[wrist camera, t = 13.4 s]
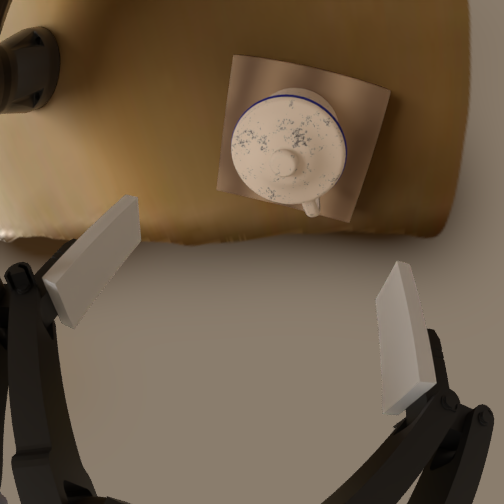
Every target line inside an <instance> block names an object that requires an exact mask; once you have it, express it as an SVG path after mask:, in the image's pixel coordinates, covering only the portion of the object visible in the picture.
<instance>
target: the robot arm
mask: <svg viewBox="0 0 504 504" xmlns="http://www.w3.org/2000/svg"><path fill="white" fill-rule="evenodd" d="M11 2H12V0H0V34H1V31H2V28H3V25H4V22H5V19H6V16H7V13H8V10H9V8H10V5H11ZM59 68H60V57H59V49H58V45H57V42H56V40H55V38H54V36H53V35H52V33H51V32H50V31H49V30H47V29H46V28H43V27H33V28H27V29H24V30H21V31H20V32H18V33H16V34H14V35H12V36H11V37H9V38H7V39H5V40H4V41H2V42H0V114H6V113H27V112H31V111H33V110H36V109H38V108H40V107H42V106H43V105H44V104H45V103H46V102H47V101H48V100H49V99H50V97H51V95H52V94H53V92H54V89H55V87H56V84H57V80H58V75H59ZM140 241H141V234H140V222H139V208H138V197H134V196H130V195H124V196H123V197H122V198H121V199H120V200H119V201H118V202H117V203H116V204H114V205H113V206H112V207H111V208H110V209H109V210H108V211H107V212H106V213H105V214H104V215H102V216H101V217H100V218H99V219H98V220H97V221H96V222H95V223H94V224H93V225H92V226H91V227H90V228H89V229H88V230H87V231H86V232H85V233H84V234H83V235H82V236H81V237H80V238H79V239H78V240H77V239H72V240H70V241H68V242H67V243H65V244H64V245H63V246H62V247H61V248H60V249H59V250H58V251H57V252H56V253H55V254H54V255H53V256H52V258H50V259H49V260H48V261H47V262H46V263H45V264H44V265H43V266H42V267H41V269H40V270H39V271H38V272H37V273H36V274H35V275H34V274H33V272H32V269H31V267H30V265H29V264H28V263H25V262H19V263H16V264H14V265H12V266H11V267H9V268H8V270H7V271H6V272H5V275H4V277H5V279H6V282H7V284H3V282H2V280H1V279H0V487H1V480H2V467H3V434H4V420H5V409H6V401H7V392H8V386H9V397H10V408H11V417H12V425H13V432H14V438H15V444H16V454H15V455H14V456H13V457H12V461H11V464H12V470H13V475H14V479H15V483H16V487H17V491H18V494H19V498H20V501H21V504H130V503H128V502H125V501H121V500H117V499H114V498H111V497H107V498H106V497H98V496H97V494H96V492H95V489H94V486H93V484H92V481H91V479H90V477H89V475H88V474H87V473H86V471H85V469H84V468H83V465H82V463H81V460H80V456H79V453H78V449H77V446H76V442H75V439H74V435H73V431H72V427H71V422H70V418H69V414H68V409H67V404H66V399H65V393H64V388H63V382H62V376H61V369H60V362H59V355H58V345H57V335H56V325H55V321H54V319H55V318H56V316H57V315H58V316H59V318H60V321H61V323H62V324H64V325H66V326H68V327H70V328H73V329H75V328H76V326H77V325H78V323H79V322H80V321H81V319H82V318H83V316H84V315H85V313H86V312H87V311H88V309H89V308H90V306H91V305H92V304H93V302H94V301H95V300H96V298H97V297H98V295H99V294H100V292H101V291H102V290H103V289H104V287H105V286H106V285H107V283H108V282H109V280H110V279H111V278H112V277H113V275H114V274H115V273H116V272H117V270H118V269H119V268H120V266H121V265H122V264H123V263H124V261H125V260H126V259H127V257H128V256H129V255H130V254H131V252H132V251H133V250H134V249H135V247H136V246H137V245H138V244H139V243H140ZM375 300H376V309H377V320H378V330H379V343H380V356H381V376H382V414H389V415H399V414H400V413H402V412H403V411H404V410H406V417H405V418H404V419H403V420H402V421H400V422H399V423H397V424H396V425H395V426H393V427H394V428H395V430H394V431H393V432H392V433H391V434H390V436H389V437H388V438H387V439H386V440H385V441H384V443H383V444H382V445H381V446H380V447H379V448H378V449H377V450H376V452H375V453H374V454H373V455H372V456H371V457H370V458H369V459H368V460H367V461H366V462H365V463H364V464H363V465H362V466H361V467H360V468H359V469H358V470H357V471H356V472H355V473H354V474H353V475H352V476H351V477H350V478H349V479H348V480H347V481H346V482H345V483H344V484H343V485H342V486H341V487H340V488H338V489H337V490H336V491H335V492H334V493H333V494H332V495H331V496H329V497H328V498H327V499H326V500H325V501H324V502H323V503H321V504H396V503H397V502H398V501H399V500H400V499H401V497H402V496H403V495H404V493H406V491H407V490H408V489H409V487H410V486H411V485H412V484H413V482H414V481H415V480H416V478H417V477H418V476H419V474H420V473H421V472H422V470H423V472H422V474H421V476H420V478H419V480H418V482H417V485H416V487H415V489H414V491H413V493H412V495H411V497H410V499H409V501H408V503H407V504H472V502H473V500H474V497H475V494H476V491H477V488H478V485H479V482H480V479H481V475H482V472H483V468H484V465H485V461H486V457H487V453H488V449H489V445H490V441H491V436H492V431H493V426H494V417H493V413H492V411H491V410H490V408H489V407H487V406H486V405H483V404H482V405H478V406H477V407H476V408H474V409H471V408H468V407H466V406H464V405H462V404H460V400H459V398H458V396H457V395H456V393H455V392H454V391H452V390H451V389H449V384H448V378H447V373H446V367H445V362H444V360H443V358H444V357H443V352H442V347H441V344H440V339H439V337H438V336H437V334H436V332H435V331H434V330H432V329H427V328H426V323H425V319H424V314H423V310H422V306H421V302H420V298H419V294H418V290H417V287H416V283H415V279H414V276H413V272H412V269H411V266H410V264H408V263H404V262H401V261H396V263H395V265H394V267H393V269H392V271H391V272H390V274H389V276H388V278H387V280H386V282H385V284H384V285H383V287H382V289H381V291H380V292H379V294H378V296H377V297H376V299H375ZM0 504H8V503H7V500H6V498H5V497H4V496H3V495H2V494H1V492H0Z"/></svg>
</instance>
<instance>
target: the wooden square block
mask: <svg viewBox="0 0 504 504" xmlns="http://www.w3.org/2000/svg"><path fill="white" fill-rule="evenodd" d="M288 88H302V89H306V90H310V91H312V92H315V93H317V94H318V95H320V96H321V97H323V98H324V99H325V100H326V101H327V102H328V103H329V104H330V105H331V107H332V108H333V110H334V111H335V113H336V116H337V119H338V123H339V125H340V126H341V128H342V131H343V133H344V136H345V139H346V144H347V160H346V164H345V168H344V171H343V173H342V175H341V177H340V179H339V180H338V181H337V183H336V184H335V185H334V186H333V187H332V188H331V189H330V190H329V191H328V192H327V193H325V194H324V195H322V196H321V197H320V204H321V211H320V214H319V215H322V216H325V217H329V218H333V219H337V220H340V221H344V222H348V223H349V222H350V219H351V216H352V214H353V211H354V208H355V205H356V203H357V200H358V197H359V194H360V191H361V188H362V185H363V182H364V179H365V176H366V173H367V170H368V167H369V164H370V161H371V158H372V155H373V152H374V149H375V145H376V142H377V139H378V135H379V132H380V129H381V125H382V122H383V118H384V115H385V111H386V108H387V104H388V101H389V97H390V93H391V91H390V90H388V89H386V88H384V87H381V86H378V85H375V84H372V83H369V82H366V81H363V80H359V79H356V78H353V77H349V76H346V75H342V74H338V73H335V72H331V71H327V70H323V69H319V68H314V67H310V66H305V65H301V64H296V63H291V62H285V61H280V60H274V59H268V58H262V57H255V56H248V55H233V61H232V68H231V75H230V82H229V89H228V96H227V104H226V112H225V120H224V128H223V136H222V145H221V153H220V162H219V172H218V181H217V190H218V191H223V192H227V193H232V194H236V195H241V196H245V197H249V198H254V199H258V200H262V201H266V202H270V203H274V204H279V205H283V206H287V207H291V208H295V209H299V210H303V211H304V209H303V206H302V203H301V204H282V203H277V202H273V201H270V200H268V199H266V198H263V197H262V196H260V195H258V194H257V193H255V192H254V191H253V190H251V189H250V188H249V187H248V186H247V185H246V184H245V183H244V181H243V180H242V179H241V177H240V176H239V174H238V172H237V170H236V168H235V166H234V163H233V159H232V153H231V139H232V134H233V130H234V128H235V125H236V123H237V122H238V120H239V118H240V117H241V116H242V114H243V113H244V112H245V111H246V110H247V109H248V108H249V107H251V106H252V105H253V104H255V103H256V102H258V101H260V100H262V99H265V98H267V97H269V96H271V95H272V94H274V93H276V92H278V91H280V90H283V89H288Z"/></svg>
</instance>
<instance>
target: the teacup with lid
mask: <svg viewBox="0 0 504 504" xmlns="http://www.w3.org/2000/svg"><path fill="white" fill-rule="evenodd" d="M231 153H232V159H233V163H234V166H235V168H236V170H237V172H238V174H239V176H240V177H241V179H242V180H243V181H244V183H245V184H246V185H247V186H248V187H249V188H250V189H251V190H253V191H254V192H255V193H257V194H258V195H260V196H262V197H263V198H266V199H268V200H270V201H273V202H277V203H282V204H301V203H302V206H303V209H304V211H305V213H306V214H307V215H308V216H309V217H315V216H318V215H319V214H320V211H321V204H320V197H321V196H322V195H324V194H325V193H327V192H328V191H329V190H330V189H331V188H332V187H333V186H334V185H335V184H336V183H337V181H338V180H339V179H340V177H341V175H342V173H343V171H344V168H345V164H346V160H347V144H346V139H345V136H344V133H343V131H342V128H341V126H340V125H339V123H338V119H337V116H336V113H335V111H334V110H333V108H332V107H331V105H330V104H329V103H328V102H327V101H326V100H325V99H324V98H323V97H321V96H320V95H318V94H317V93H315V92H312V91H310V90H306V89H302V88H288V89H283V90H280V91H278V92H276V93H274V94H272V95H271V96H269V97H267V98H265V99H262V100H260V101H258V102H256V103H255V104H253V105H252V106H251V107H249V108H248V109H247V110H246V111H245V112H244V113H243V114H242V116H241V117H240V118H239V120H238V122H237V123H236V125H235V128H234V130H233V134H232V139H231Z"/></svg>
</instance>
